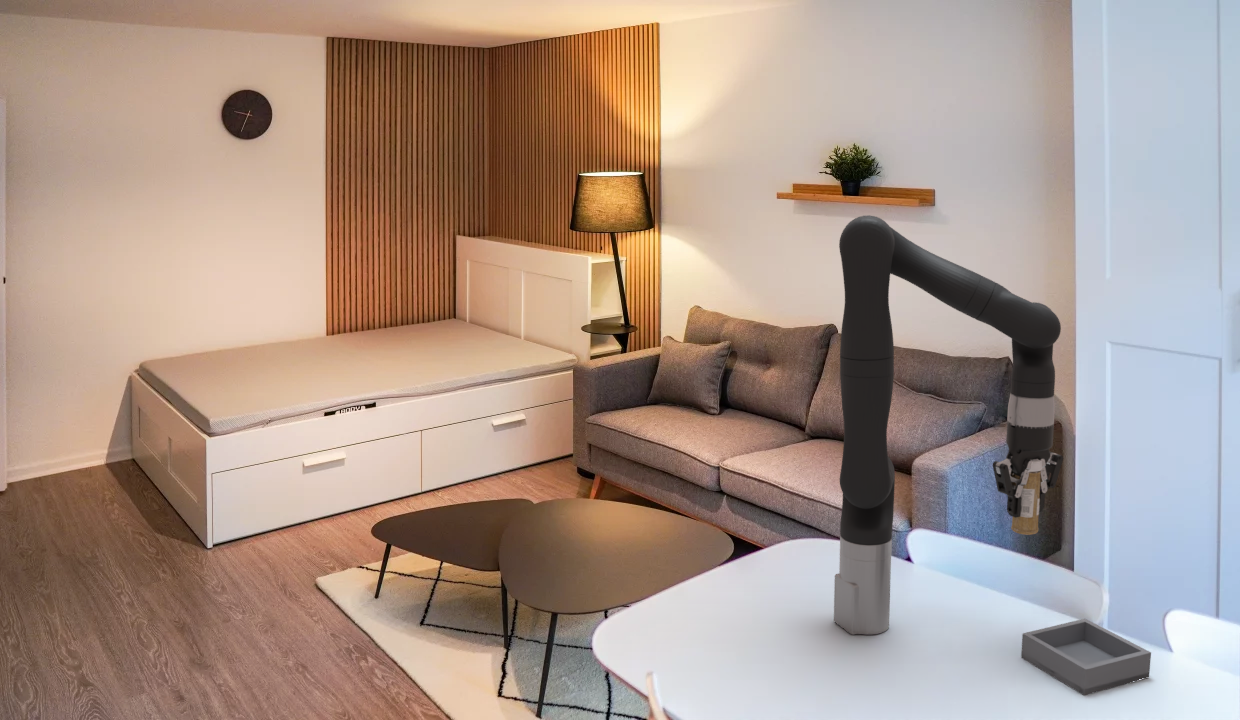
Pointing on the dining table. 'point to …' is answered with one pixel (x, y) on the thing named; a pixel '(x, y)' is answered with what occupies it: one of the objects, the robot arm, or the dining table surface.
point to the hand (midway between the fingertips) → (1025, 513)
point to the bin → (1085, 656)
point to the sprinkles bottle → (1029, 502)
